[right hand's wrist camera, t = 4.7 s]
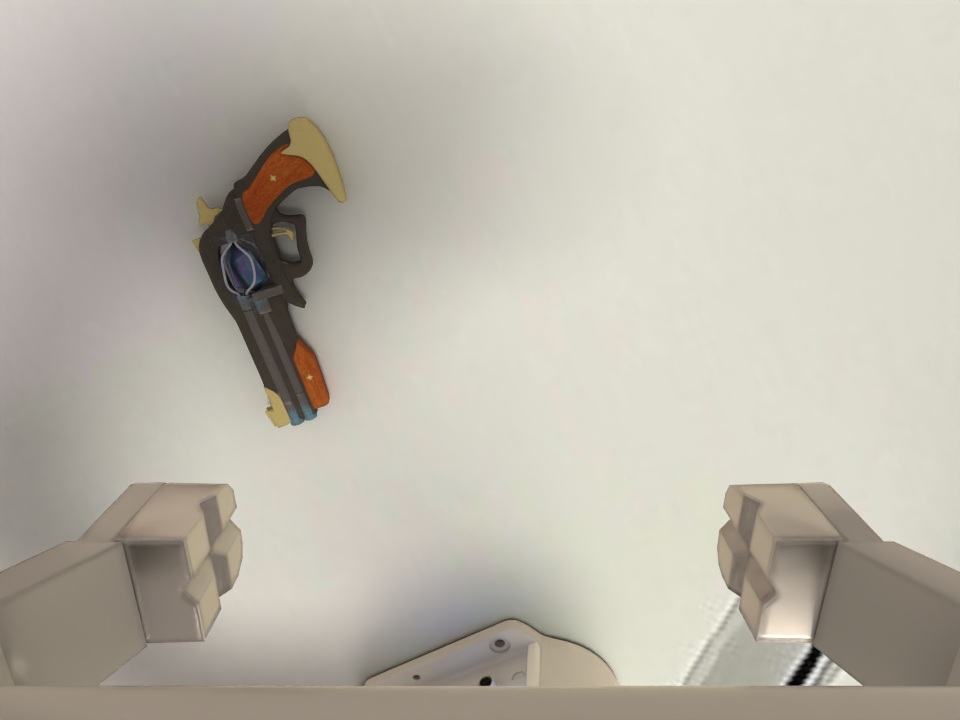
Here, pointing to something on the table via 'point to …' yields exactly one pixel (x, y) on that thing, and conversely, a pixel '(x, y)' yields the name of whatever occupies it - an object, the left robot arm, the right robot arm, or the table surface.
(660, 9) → the table surface
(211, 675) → the table surface
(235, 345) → the table surface
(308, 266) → the toy gun
